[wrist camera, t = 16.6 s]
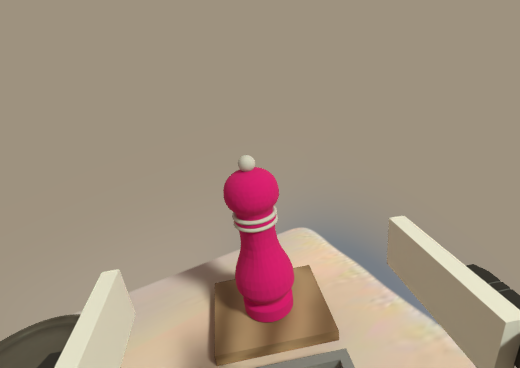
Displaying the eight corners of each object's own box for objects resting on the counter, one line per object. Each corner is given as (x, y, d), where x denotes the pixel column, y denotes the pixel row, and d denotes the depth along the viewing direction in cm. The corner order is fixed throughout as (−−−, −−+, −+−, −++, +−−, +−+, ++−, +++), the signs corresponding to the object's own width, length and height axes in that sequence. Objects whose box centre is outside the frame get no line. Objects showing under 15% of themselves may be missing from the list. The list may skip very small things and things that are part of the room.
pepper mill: (229, 307, 40) (197, 162, 32) (268, 277, 44) (247, 142, 37) (270, 337, 35) (242, 173, 27) (309, 299, 39) (294, 149, 32)
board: (217, 365, 34) (214, 356, 34) (216, 291, 45) (215, 283, 45) (338, 339, 35) (338, 330, 35) (309, 273, 46) (309, 265, 46)
